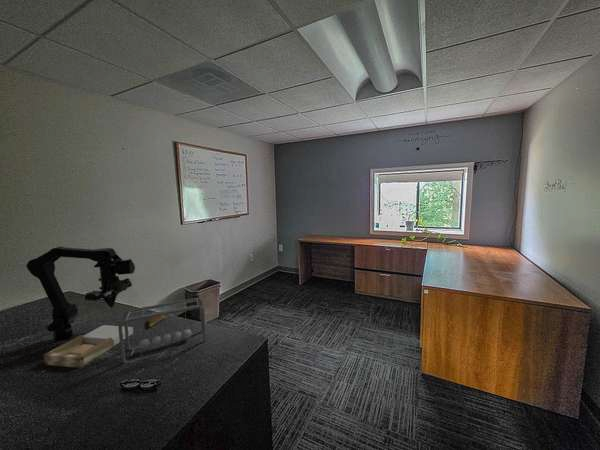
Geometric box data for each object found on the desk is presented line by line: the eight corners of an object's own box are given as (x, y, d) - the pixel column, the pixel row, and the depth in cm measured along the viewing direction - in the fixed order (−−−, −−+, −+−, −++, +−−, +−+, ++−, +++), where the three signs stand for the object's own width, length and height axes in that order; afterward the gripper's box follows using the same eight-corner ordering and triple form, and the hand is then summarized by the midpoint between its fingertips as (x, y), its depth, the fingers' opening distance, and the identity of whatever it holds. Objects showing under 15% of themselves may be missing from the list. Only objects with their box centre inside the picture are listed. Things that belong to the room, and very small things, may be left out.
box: (44, 364, 93) (43, 354, 93) (81, 343, 106) (80, 335, 106) (80, 368, 91) (79, 358, 90) (113, 346, 104) (112, 337, 104)
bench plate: (82, 343, 107) (81, 336, 107) (103, 331, 117) (103, 325, 116) (114, 345, 104) (113, 339, 104) (133, 333, 114) (132, 327, 114)
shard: (149, 328, 118) (149, 324, 118) (136, 326, 120) (136, 322, 120) (167, 318, 128) (166, 314, 128) (155, 316, 130) (155, 313, 130)
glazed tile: (83, 344, 102) (84, 349, 103) (70, 352, 97) (70, 358, 97) (95, 344, 102) (95, 350, 102) (81, 353, 96) (82, 359, 97)
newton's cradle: (121, 366, 91) (117, 321, 89) (127, 351, 101) (123, 310, 99) (206, 344, 105) (204, 305, 103) (204, 332, 114) (202, 296, 112)
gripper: (102, 282, 103) (106, 317, 105) (139, 270, 121) (142, 300, 123) (81, 281, 105) (85, 315, 107) (120, 269, 124) (123, 298, 125)
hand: (111, 307), depth 116 cm, fingers closed
